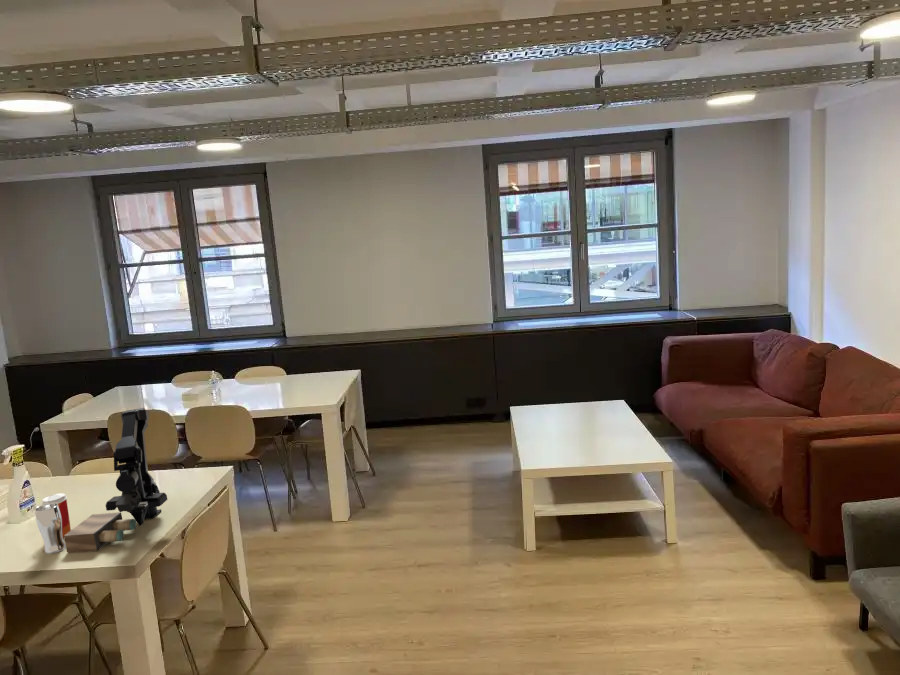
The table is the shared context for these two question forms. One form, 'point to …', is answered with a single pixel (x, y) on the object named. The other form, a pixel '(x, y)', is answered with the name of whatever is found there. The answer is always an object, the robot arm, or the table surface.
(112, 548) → the table surface
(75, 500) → the table surface
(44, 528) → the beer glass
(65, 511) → the red canister
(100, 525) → the socket block
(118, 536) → the dowel
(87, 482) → the table surface
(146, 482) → the robot arm
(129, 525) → the dowel
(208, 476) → the table surface
